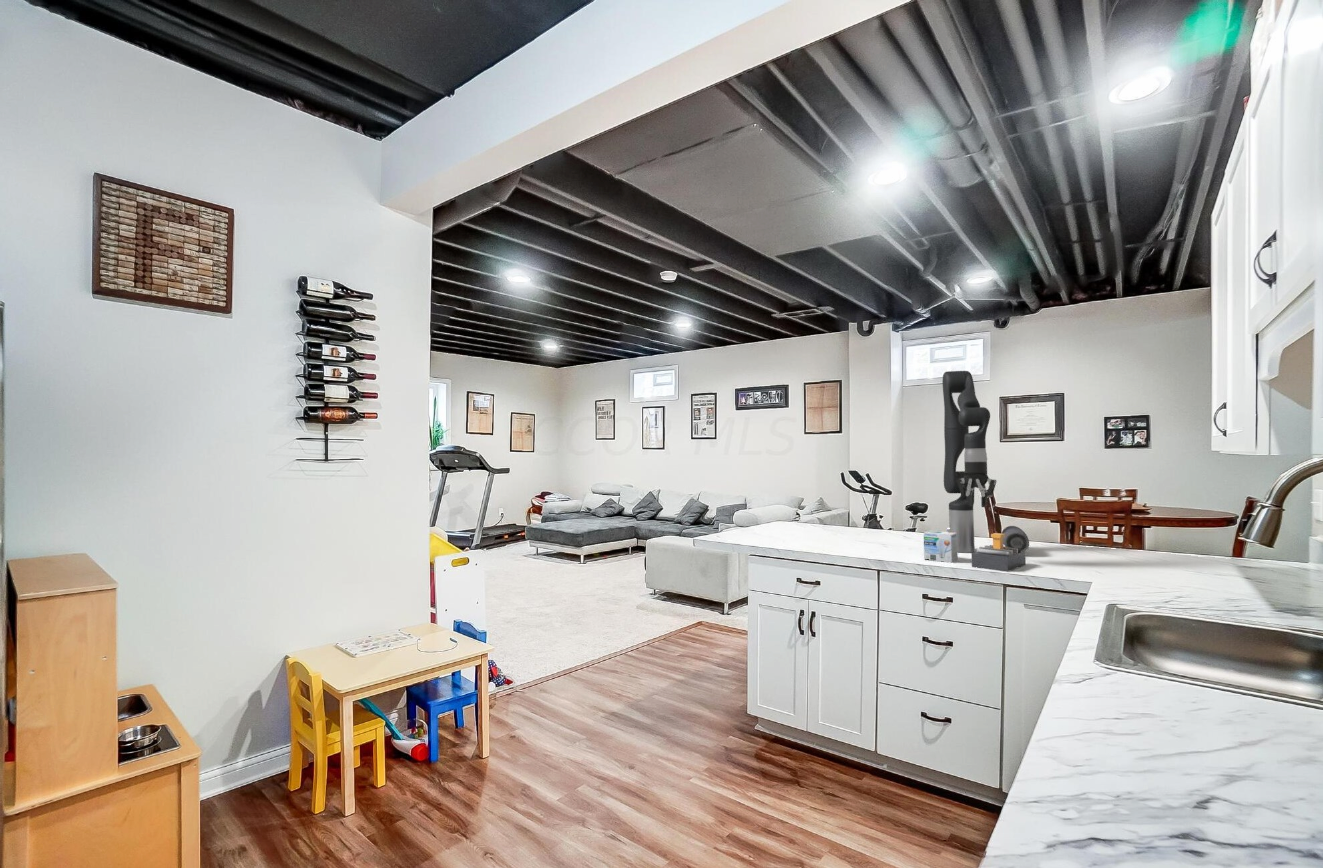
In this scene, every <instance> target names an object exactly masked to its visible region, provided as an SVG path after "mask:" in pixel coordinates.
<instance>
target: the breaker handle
mask: <svg viewBox="0 0 1323 868" xmlns="http://www.w3.org/2000/svg"><path fill="white" fill-rule="evenodd" d="M1004 537H1005V534H1002V532H1001V533H999V532H998V533H997V532H994V533H991V534H990V538H992V545H993V548H995V549H1004V548H1003V546H1004V544H1003V538H1004Z"/></svg>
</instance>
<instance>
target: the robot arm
mask: <svg viewBox="0 0 1323 868" xmlns="http://www.w3.org/2000/svg"><path fill="white" fill-rule="evenodd" d="M953 394H959V395H958V396H957V405H958V406H957V405H956V403H955V400H954V396H953ZM942 396H943V407H944V414H943V415H944V417H943V418H944V424H943V425H944V426H943V431H944V432H943V433H944V434H943V435H944V437H943V438H944V468H943V488H944V491H946V493H948V494H960V496H959V497H958V498H957V499H955V500H953V501H950V502H949V503H948V517H949V518H948V520H949V521H948V523H949V527H947V529H946V530H947V531H946V532H955V533H957V553H974V552H976V551H975V525H974V523H975V519H974V504H975V489H976V488H977V489H978V490H979V492H980V495H981V497H980V500H981V501H980V503H981V508H986V507H987V506H988V497H989V496H993V494H994V492H995V488H996V484H997V482H998V481H997V479H993V478H989V476H988V456H987V449H986V448H987V445H986V437H987V429H988V426H989V422H990V420H991V412H990V410H989V409H988V407H984V406H982V407H981V405H980V402H979V400H978V398H977V395H976V389H975V384H974V379H973V375H972V373H971V372H970V371H968V370H951V371H945V372H944V373H943V375H942ZM969 427H978V429H977V430H976V431H973V432H970V431H969V430H970V429H969ZM963 451H964V453H963V454H964V456H963V457H964V470H962V471H961V470H960V471H959V470H958V471H957V465H958V464H957V463H958V460H959V458H960V456H961V455H962V452H963ZM986 484H988V488H987V487H986Z"/></svg>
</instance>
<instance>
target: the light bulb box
mask: <svg viewBox="0 0 1323 868" xmlns="http://www.w3.org/2000/svg"><path fill="white" fill-rule="evenodd" d="M958 555H959V552H957V533H955V532H947V531H938V530H926V531H924V532H923V560H924V559H929V560H928V561H932V560H934V561H935V562H941V561H944V562H943V563H949V562H950V563H949V564H952V562H953V563H954V561H955V562H957V561H959V558H958V557H959V556H958ZM934 561H933V562H934Z"/></svg>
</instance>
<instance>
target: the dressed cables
mask: <svg viewBox="0 0 1323 868" xmlns="http://www.w3.org/2000/svg"><path fill="white" fill-rule="evenodd" d="M989 546H993V544H990V545H989ZM1003 547H1005V545H1003ZM1005 548H1014V547H1005ZM1015 549H1018V552H1021V549H1020V548H1015ZM976 552H978V553H987V554H996V555H1005V556H1009V555H1010V553H1009V552H1006V551H996V550H987V549H979V548H976Z"/></svg>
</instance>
